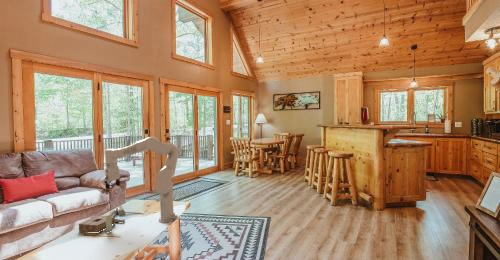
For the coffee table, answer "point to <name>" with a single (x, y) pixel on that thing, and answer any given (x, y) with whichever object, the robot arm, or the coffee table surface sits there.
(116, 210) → the faucet
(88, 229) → the socket block
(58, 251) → the coffee table surface
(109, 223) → the peg
